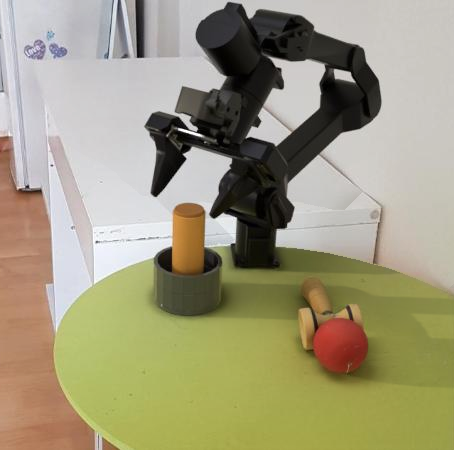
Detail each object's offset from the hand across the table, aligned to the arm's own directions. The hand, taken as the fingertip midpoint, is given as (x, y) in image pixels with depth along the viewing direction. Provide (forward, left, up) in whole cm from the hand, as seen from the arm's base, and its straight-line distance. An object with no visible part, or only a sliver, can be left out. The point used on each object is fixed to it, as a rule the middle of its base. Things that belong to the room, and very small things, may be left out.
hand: (181, 206), depth 90 cm
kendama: (+8, +17, -14) cm, 23 cm away
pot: (-1, +1, -13) cm, 14 cm away
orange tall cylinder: (-1, +1, -13) cm, 13 cm away
